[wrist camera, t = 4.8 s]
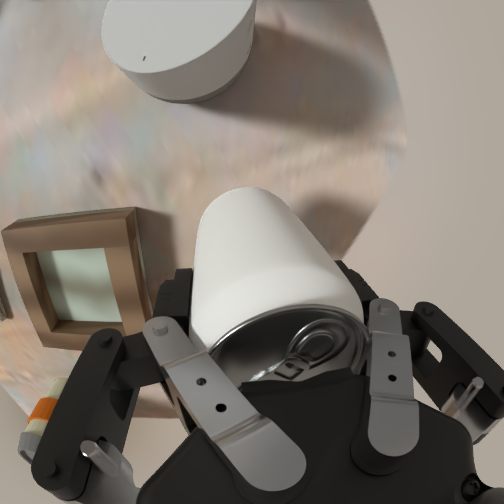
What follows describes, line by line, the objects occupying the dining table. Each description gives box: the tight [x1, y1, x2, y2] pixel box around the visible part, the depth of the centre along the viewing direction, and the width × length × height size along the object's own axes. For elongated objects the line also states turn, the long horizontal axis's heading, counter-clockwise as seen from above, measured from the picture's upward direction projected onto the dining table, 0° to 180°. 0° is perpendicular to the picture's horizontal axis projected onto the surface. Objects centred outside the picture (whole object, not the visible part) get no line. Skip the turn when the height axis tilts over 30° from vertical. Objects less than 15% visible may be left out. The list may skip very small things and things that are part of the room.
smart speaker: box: [101, 0, 257, 104], centre depth 13 cm, size 10×9×14 cm
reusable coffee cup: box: [18, 378, 68, 464], centre depth 28 cm, size 13×13×15 cm
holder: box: [1, 207, 153, 351], centre depth 25 cm, size 15×15×4 cm
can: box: [189, 187, 370, 391], centre depth 14 cm, size 6×6×12 cm
